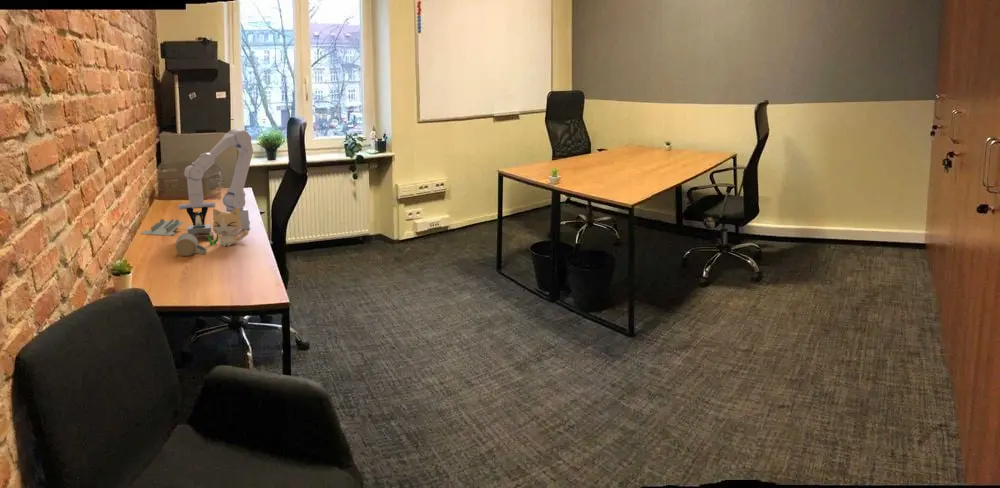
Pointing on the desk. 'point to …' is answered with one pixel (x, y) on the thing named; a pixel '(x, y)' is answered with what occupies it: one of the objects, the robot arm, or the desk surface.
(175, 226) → the metal bracket
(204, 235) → the mount
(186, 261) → the desk surface
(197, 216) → the pin
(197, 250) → the ceramic mug
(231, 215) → the kitten
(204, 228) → the dock
